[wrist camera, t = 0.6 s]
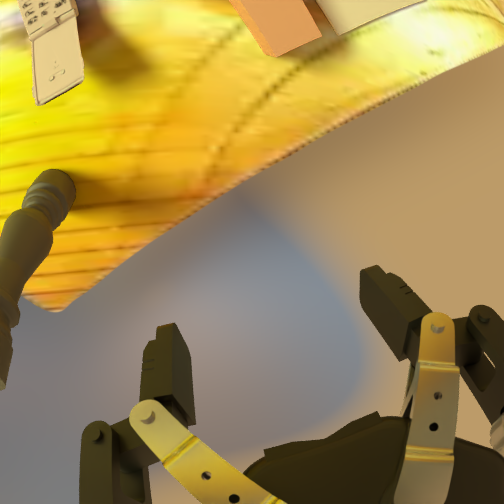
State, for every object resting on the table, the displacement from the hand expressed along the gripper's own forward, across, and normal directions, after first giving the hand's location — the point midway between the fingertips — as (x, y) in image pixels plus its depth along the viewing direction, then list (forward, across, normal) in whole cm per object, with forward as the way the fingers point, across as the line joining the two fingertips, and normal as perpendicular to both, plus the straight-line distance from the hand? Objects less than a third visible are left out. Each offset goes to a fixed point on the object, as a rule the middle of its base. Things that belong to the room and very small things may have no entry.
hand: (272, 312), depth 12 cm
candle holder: (+26, +21, -4) cm, 33 cm away
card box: (+22, -8, -18) cm, 29 cm away
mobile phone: (+21, +13, -27) cm, 36 cm away
